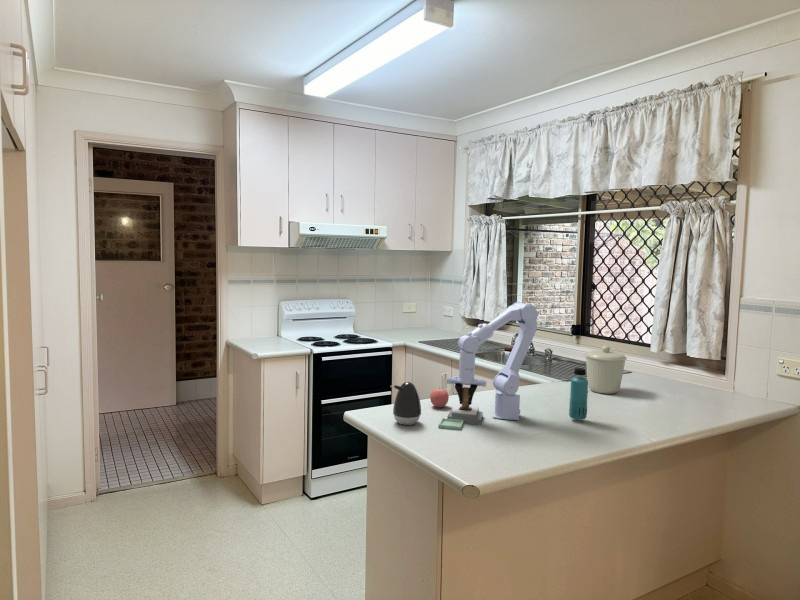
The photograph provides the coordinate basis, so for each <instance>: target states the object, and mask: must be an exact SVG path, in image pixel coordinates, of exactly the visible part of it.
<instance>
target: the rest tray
mask: <svg viewBox="0 0 800 600" xmlns="http://www.w3.org/2000/svg"><path fill="white" fill-rule="evenodd" d="M464 424H465V423H464V420H458V419H447V418H446V417H441V419H440V421H439V423H438V424H437V425H438V426H437V428H438V429H446V430H454V431H455V430H456V431H461V430H462V428H463V426H464Z"/></svg>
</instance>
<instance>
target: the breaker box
mask: <svg viewBox="0 0 800 600" xmlns="http://www.w3.org/2000/svg"><path fill="white" fill-rule="evenodd" d="M483 412H484V411H482V410H481V411H480V408H479V406H478V405H477V406H476V405H469V411H465V410H462V404H454V406H453V408H451V409H450V411H449V413H448V415H447V416H446V417H447V419H458V420H464V423H463V424H467V425H470V424H471V425H479V426H480V425H481V423H482V419H483Z"/></svg>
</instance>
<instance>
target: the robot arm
mask: <svg viewBox="0 0 800 600" xmlns="http://www.w3.org/2000/svg"><path fill="white" fill-rule="evenodd" d="M538 316H539V313H538V311H537V308H536V306H534V305H533V304H529V303H528V304H527V303H523V302H520V301H516V302H513V304H511V305H509V306H508V307H507V308H506V309H505V310H504V311H502V312H501V313H500V314H499V315H498V316H496V317H495V318H494V319H493V320H491V321H490V322H489V323H479V324H478V325H477V327H476V328H475V329H474V330H472V331H469V332H467V334H466V335H462V336H461V337H460V338H459V339H458V340H457V342H456V344H457V348H458V349H459V360H458V361H459V363H458V365H459V366H458V367H459V368H458V377H447V378H446V384H447V385H449V384H450V385H451V384H453V385H454V389H455V391H456V394H457V396H458V399H459V400H458V401H459V405H462V388H463V387H464V385H465V386H469V388H470V398H469V406H472V403H473V399H474V398H473V397H474V396H475V395H474V394H475V392H476V390H477V388H478V387H485V388H486V387H487V380H486V379H485V380H483V379H478V378H475V371H476V369H475V368H476V352H477V351H478V350H479V346H480V345H482V344H483V343H485V342H486V341H487V340H489V339H490V338H492V337H493V336H494V332H495V331H496V330H498V329H500V328H501V327H503V326H504V325H506V324H508V323H509V322H511V321H517V323H518V325H519V328H520V331H519V332H518V336H517V338H516V340H515V342H514V343H513V344H514V345H513V347H512V349H511V352H510V353H509V356H508V357H507V358H508V359H507V361H506V364H505V365H504V367H502V368H500V370H499V372H498V373H497V374H496V375H495V376H494V377H493V380H492V385H493V387H494V388H495V401H494V403H495V405H494V412H493V416H492V418H493V419H500V420H501V419H502V420H509V421H510V420H513V421H519V419H520V415H521V409H520V405H521V403H520V401H521V395H520V394H516V393H517V392H518V391H519V383H520V380H521V378H520V374H519V371H520V369H521V367H522V365H523V362H524V360H525V358H526V356H527V353H528V351H529V349H530V345H531V343H532V342H533V340H534V336H535V334H536V332H537V330H538V329H537V327H538V326H537V322H538V321H537V319H538Z"/></svg>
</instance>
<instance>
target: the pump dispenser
mask: <svg viewBox="0 0 800 600" xmlns="http://www.w3.org/2000/svg"><path fill="white" fill-rule="evenodd" d="M393 388H394V389H396V390H397V393H396V395H395V399H394V403H393V409H392V414H393V416H394V419H395V421H396V422H397V423H399V424H400V425H402V424H403V425H404V426H412V425H415V424H416V423H417V422H418V421H419V419H420V417H421V415H422V405H421V399H420V396H419V393H418V390H417V387H416V386H415V384H414V383H413V382H410V381H405V382H403V383H402V384H401V385H397V384H396V385H394V386H393Z"/></svg>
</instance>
